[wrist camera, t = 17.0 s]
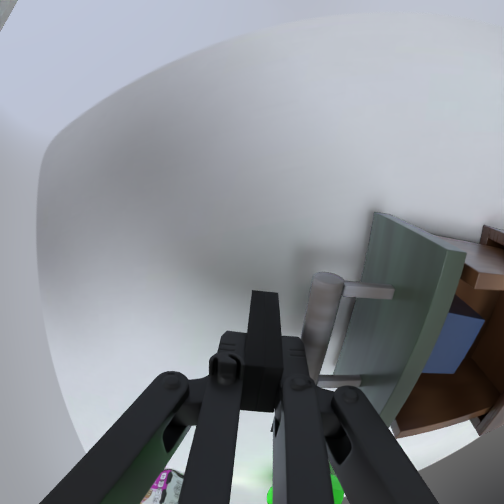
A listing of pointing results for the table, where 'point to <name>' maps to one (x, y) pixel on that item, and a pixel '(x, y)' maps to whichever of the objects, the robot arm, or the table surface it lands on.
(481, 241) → the cabinet
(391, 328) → the drawer
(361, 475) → the robot arm
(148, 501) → the candy bar box
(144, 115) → the table surface
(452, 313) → the block
